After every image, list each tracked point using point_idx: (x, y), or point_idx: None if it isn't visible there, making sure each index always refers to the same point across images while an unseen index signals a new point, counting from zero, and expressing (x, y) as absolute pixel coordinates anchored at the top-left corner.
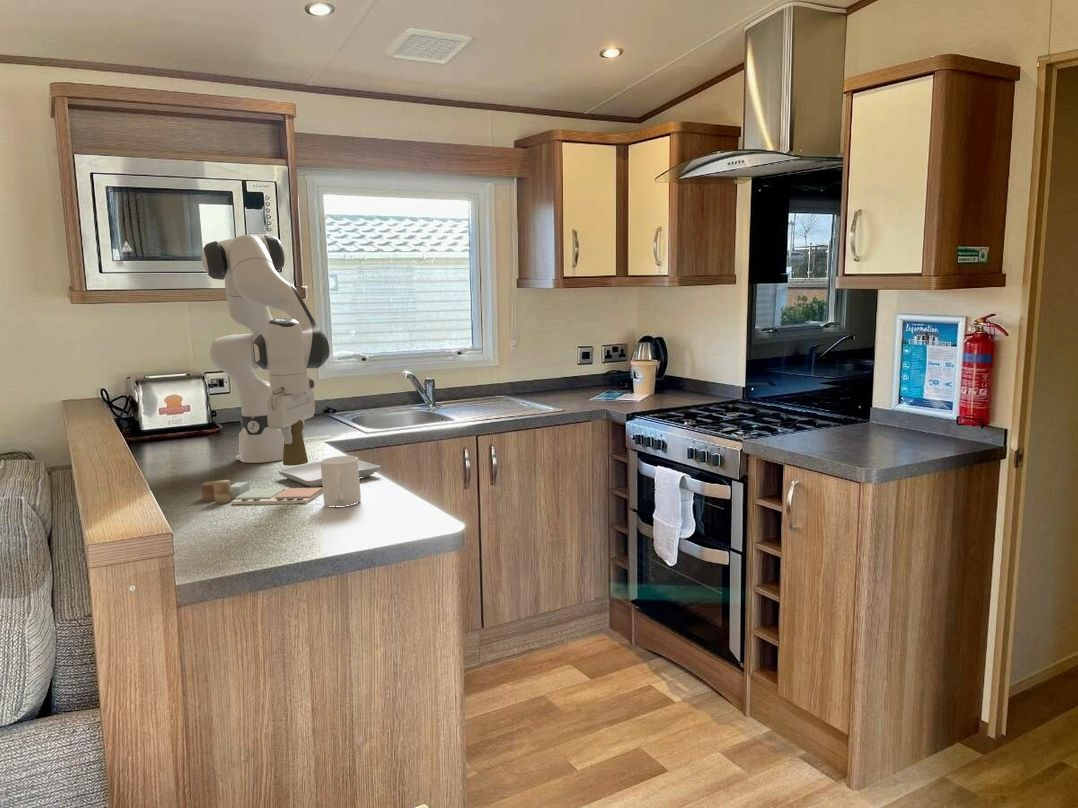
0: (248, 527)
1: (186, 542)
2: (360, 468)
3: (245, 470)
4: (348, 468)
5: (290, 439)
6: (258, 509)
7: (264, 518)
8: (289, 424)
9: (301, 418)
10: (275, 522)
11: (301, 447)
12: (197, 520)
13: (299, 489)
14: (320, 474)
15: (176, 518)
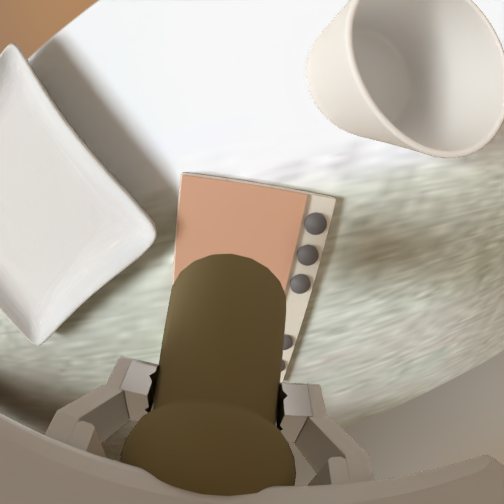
0: (481, 288)
1: (498, 350)
2: None
3: (12, 387)
4: (475, 32)
5: (322, 404)
6: (349, 315)
7: (437, 276)
8: (422, 480)
9: (151, 490)
10: (476, 242)
11: (252, 321)
12: (384, 393)
13: (196, 252)
14: (8, 238)
15: (351, 423)
